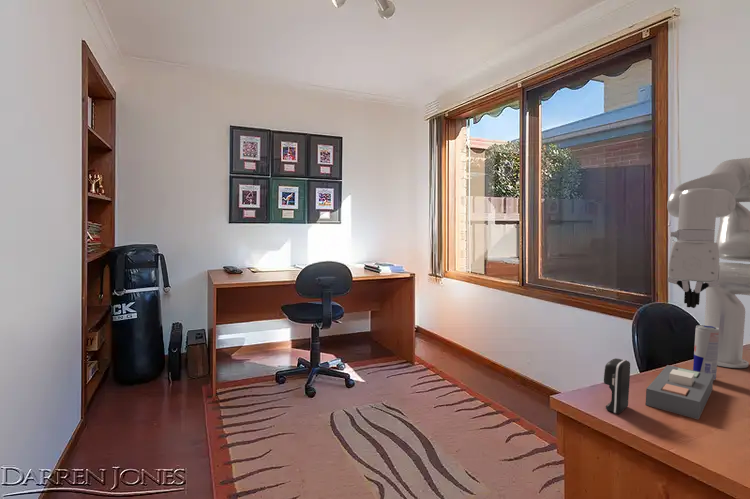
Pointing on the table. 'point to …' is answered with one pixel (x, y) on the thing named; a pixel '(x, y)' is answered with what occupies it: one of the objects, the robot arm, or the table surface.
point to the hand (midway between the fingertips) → (691, 306)
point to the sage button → (696, 374)
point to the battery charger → (618, 384)
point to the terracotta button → (675, 389)
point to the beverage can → (706, 349)
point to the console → (679, 403)
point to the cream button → (681, 377)
